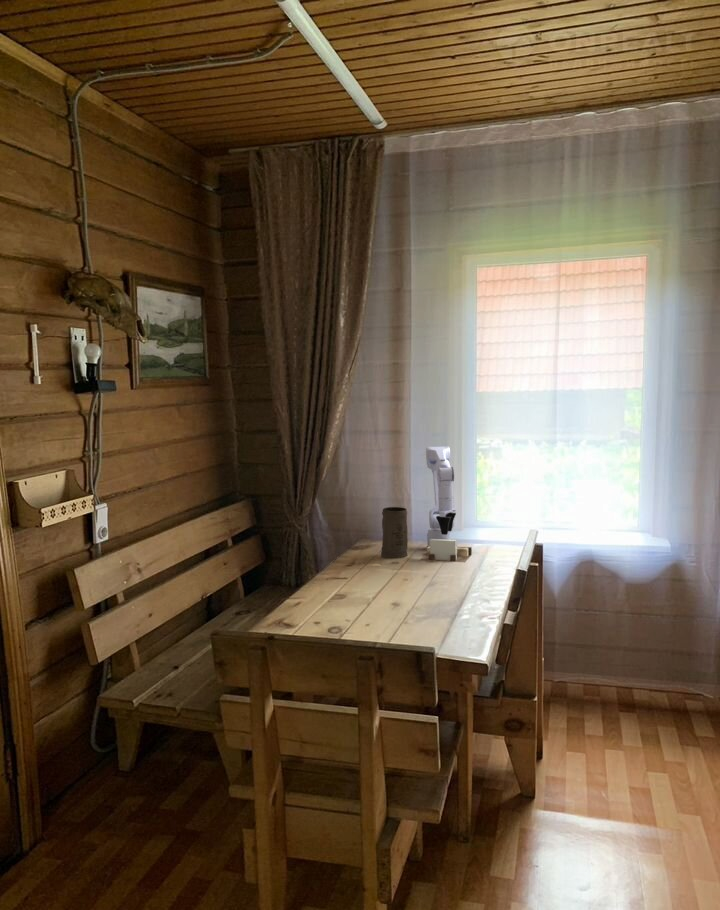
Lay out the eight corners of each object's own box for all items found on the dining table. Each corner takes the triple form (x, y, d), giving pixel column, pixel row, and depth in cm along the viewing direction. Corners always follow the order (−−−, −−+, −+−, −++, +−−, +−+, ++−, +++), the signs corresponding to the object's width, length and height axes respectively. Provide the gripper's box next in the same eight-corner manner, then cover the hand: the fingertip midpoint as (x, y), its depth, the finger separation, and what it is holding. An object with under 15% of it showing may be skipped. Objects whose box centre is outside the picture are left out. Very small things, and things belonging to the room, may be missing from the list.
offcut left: (427, 555, 277) (427, 547, 277) (429, 553, 280) (428, 546, 280) (442, 555, 275) (441, 548, 275) (443, 554, 278) (443, 546, 278)
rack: (418, 562, 269) (418, 552, 269) (427, 554, 282) (427, 545, 282) (465, 564, 263) (464, 554, 263) (471, 556, 276) (471, 547, 276)
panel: (430, 559, 270) (429, 540, 269) (431, 557, 272) (431, 538, 272) (455, 560, 266) (455, 541, 266) (457, 559, 269) (456, 539, 268)
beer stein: (414, 558, 277) (413, 508, 275) (392, 562, 271) (391, 511, 269) (391, 552, 289) (389, 504, 288) (370, 556, 283) (368, 507, 282)
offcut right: (451, 556, 274) (451, 548, 274) (453, 554, 277) (453, 547, 277) (467, 556, 272) (466, 549, 272) (468, 555, 275) (468, 547, 275)
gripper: (452, 500, 263) (453, 536, 264) (459, 496, 276) (460, 530, 277) (434, 500, 265) (434, 535, 266) (442, 495, 279) (442, 529, 279)
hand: (446, 532), depth 272 cm, fingers open, 7 cm apart
